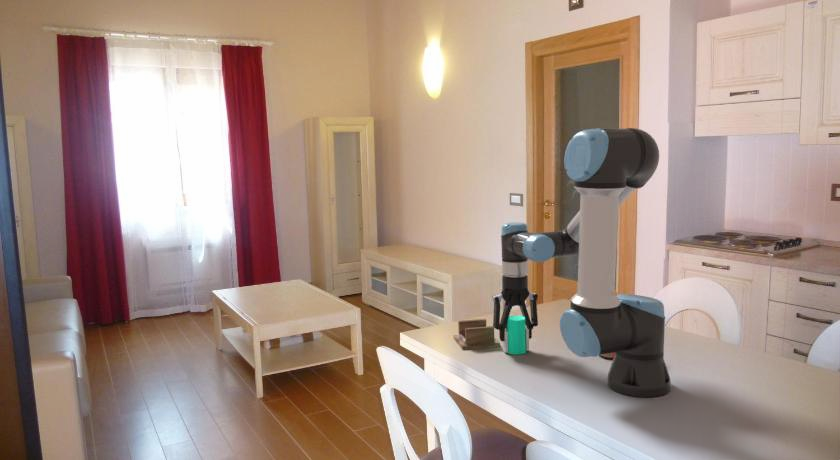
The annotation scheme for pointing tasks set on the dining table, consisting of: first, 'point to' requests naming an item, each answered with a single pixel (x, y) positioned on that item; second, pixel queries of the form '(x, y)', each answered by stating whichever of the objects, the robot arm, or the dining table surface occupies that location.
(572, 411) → the dining table surface
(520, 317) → the candle
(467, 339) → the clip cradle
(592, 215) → the robot arm
